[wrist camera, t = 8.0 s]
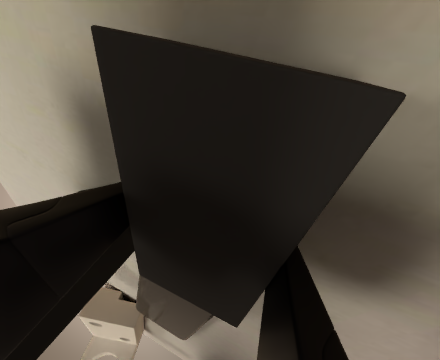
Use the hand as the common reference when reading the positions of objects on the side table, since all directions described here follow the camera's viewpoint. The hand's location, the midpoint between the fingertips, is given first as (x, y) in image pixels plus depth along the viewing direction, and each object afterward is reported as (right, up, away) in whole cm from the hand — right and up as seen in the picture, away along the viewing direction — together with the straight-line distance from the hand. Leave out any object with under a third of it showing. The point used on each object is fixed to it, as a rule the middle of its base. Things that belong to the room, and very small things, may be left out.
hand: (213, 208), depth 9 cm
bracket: (-14, -20, +21) cm, 32 cm away
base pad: (0, +1, +1) cm, 1 cm away
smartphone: (-5, -11, +11) cm, 16 cm away
